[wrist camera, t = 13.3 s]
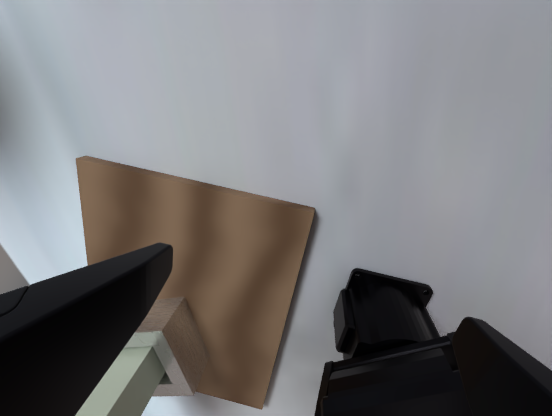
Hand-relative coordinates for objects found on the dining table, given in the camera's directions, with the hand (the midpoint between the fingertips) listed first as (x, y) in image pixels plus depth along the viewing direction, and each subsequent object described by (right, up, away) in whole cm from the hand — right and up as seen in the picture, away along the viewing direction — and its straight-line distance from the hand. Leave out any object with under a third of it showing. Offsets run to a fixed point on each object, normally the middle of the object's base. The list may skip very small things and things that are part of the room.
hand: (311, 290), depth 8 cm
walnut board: (-9, -6, +18) cm, 21 cm away
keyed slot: (-13, -10, +19) cm, 25 cm away
